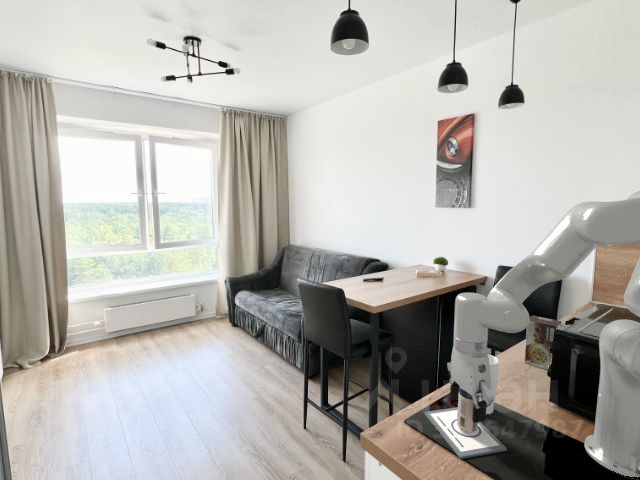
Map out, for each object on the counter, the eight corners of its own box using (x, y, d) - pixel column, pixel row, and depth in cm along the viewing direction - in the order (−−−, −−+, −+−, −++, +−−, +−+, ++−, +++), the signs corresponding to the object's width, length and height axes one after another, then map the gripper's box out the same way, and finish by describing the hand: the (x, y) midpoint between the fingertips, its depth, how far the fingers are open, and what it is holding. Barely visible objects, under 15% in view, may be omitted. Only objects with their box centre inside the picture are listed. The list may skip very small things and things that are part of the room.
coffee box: (559, 365, 119) (562, 321, 116) (554, 372, 114) (558, 326, 112) (529, 357, 125) (532, 314, 123) (523, 363, 121) (526, 319, 119)
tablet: (506, 450, 80) (506, 447, 80) (460, 459, 78) (460, 456, 77) (463, 408, 96) (464, 405, 96) (424, 414, 94) (424, 411, 93)
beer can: (479, 435, 84) (483, 389, 82) (459, 432, 85) (462, 387, 83) (474, 422, 89) (477, 378, 87) (454, 420, 89) (457, 377, 88)
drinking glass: (499, 419, 91) (502, 365, 89) (472, 416, 92) (474, 363, 90) (492, 403, 98) (495, 354, 96) (466, 401, 99) (469, 352, 97)
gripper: (509, 358, 76) (504, 430, 78) (462, 329, 93) (459, 388, 95) (479, 362, 75) (475, 435, 77) (437, 331, 92) (435, 392, 94)
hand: (466, 409), depth 86 cm, fingers open, 8 cm apart
